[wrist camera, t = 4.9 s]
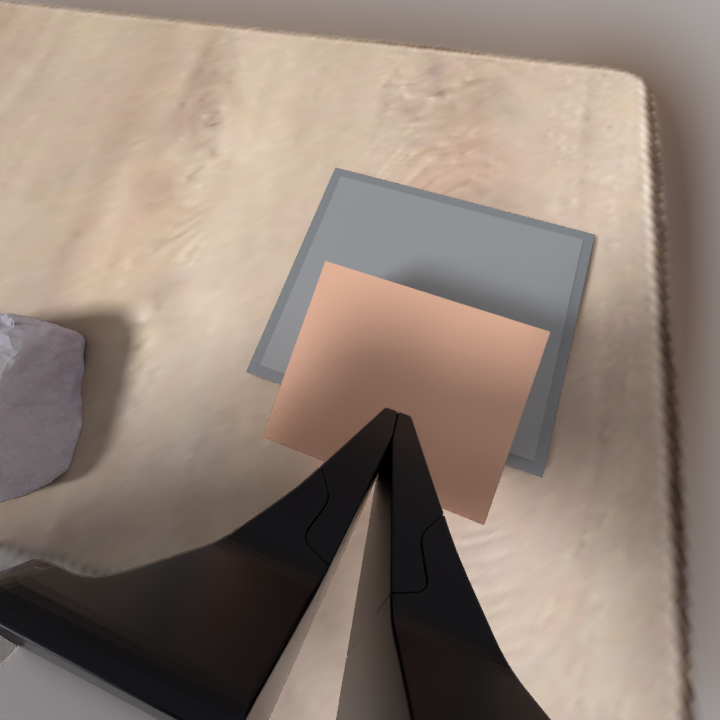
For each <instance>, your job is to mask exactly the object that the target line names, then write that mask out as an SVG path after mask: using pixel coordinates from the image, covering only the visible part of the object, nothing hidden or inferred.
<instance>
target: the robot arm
mask: <svg viewBox="0 0 720 720" xmlns="http://www.w3.org/2000/svg"><path fill="white" fill-rule="evenodd" d="M376 477H377V479H376ZM375 480H376V484H375V490H374V496H373V502H372V508H371V514H370V520H369V526H368V532H367V538H366V544H365V550H364V556H363V562H362V568H361V574H360V580H359V586H358V592H357V598H356V604H355V610H354V616H353V622H352V628H351V634H350V640H349V646H348V652H347V658H346V663H345V669H344V675H343V681H342V687H341V693H340V699H339V705H338V711H337V717H336V720H551V719H550V718H549V717H548V716H547V714H546V713H545V712H544V711H543V710H542V708H541V707H540V706H539V705H538V703H537V702H536V701H535V700H534V698H533V697H532V696H531V695H530V694H529V692H528V691H527V690H526V689H525V687H524V686H523V685H522V683H521V682H520V681H519V679H518V678H517V676H516V675H515V673H514V672H513V671H512V669H511V667H510V666H509V664H508V662H507V661H506V659H505V657H504V655H503V653H502V651H501V650H500V648H499V646H498V644H497V641H496V639H495V637H494V635H493V633H492V630H491V628H490V626H489V624H488V621H487V619H486V617H485V615H484V612H483V610H482V608H481V606H480V604H479V601H478V599H477V597H476V595H475V592H474V590H473V588H472V586H471V583H470V581H469V579H468V577H467V574H466V572H465V570H464V567H463V565H462V563H461V560H460V558H459V555H458V553H457V551H456V548H455V545H454V542H453V540H452V537H451V534H450V531H449V528H448V525H447V522H446V519H445V516H443V511H442V508H441V505H440V502H439V499H438V496H437V493H436V490H435V487H434V484H433V480H432V477H431V474H430V471H429V468H428V465H427V462H426V459H425V456H424V453H423V450H422V447H421V444H420V441H419V438H418V435H417V432H416V429H415V426H414V423H413V420H412V418H411V416H410V415H407V414H404V413H401V412H399V413H397V411H396V410H393V409H390V408H387V407H386V408H384V409H383V410H382V411H381V412H380V413H378V414H377V415H376V416H375V417H374V418H373V419H372V420H371V421H370V422H369V423H367V424H366V425H365V426H364V427H363V428H362V429H361V430H360V431H359V432H358V433H356V434H355V435H354V436H353V437H352V438H351V439H350V440H349V441H348V442H347V443H345V444H344V445H343V446H342V447H341V448H340V449H339V450H338V451H337V452H335V453H334V454H333V455H332V456H331V457H330V458H329V459H328V460H327V461H326V462H324V463H323V464H322V465H321V466H320V468H318V469H317V470H315V471H314V472H313V473H312V474H311V475H310V476H309V477H308V478H306V479H305V480H304V481H303V482H302V483H300V484H299V485H298V486H297V487H296V488H294V489H293V490H292V491H290V492H289V493H288V494H286V495H285V496H284V497H282V498H281V499H279V500H278V501H277V502H275V503H274V504H272V505H271V506H269V507H268V508H266V509H265V510H264V511H262V512H261V513H259V514H258V515H256V516H255V517H253V518H252V519H251V520H249V521H248V522H246V523H245V524H243V525H242V526H241V527H239V528H238V529H236V530H235V531H233V532H232V533H230V534H228V535H226V536H225V537H223V538H221V539H219V540H217V541H215V542H213V543H210V544H208V545H205V546H202V547H199V548H196V549H193V550H189V551H186V552H183V553H180V554H177V555H174V556H171V557H167V558H164V559H161V560H158V561H155V562H152V563H149V564H145V565H142V566H139V567H136V568H133V569H130V570H127V571H124V572H120V573H115V574H111V575H104V576H83V575H79V574H76V573H73V572H71V571H69V570H67V569H65V568H63V567H61V566H58V565H56V564H54V563H52V562H49V561H46V560H42V559H34V560H30V561H28V562H25V563H23V564H20V565H17V566H15V567H12V568H10V569H7V570H4V571H2V572H0V635H1V636H3V637H4V638H6V639H7V640H9V641H11V642H12V643H14V644H15V645H17V647H16V648H15V649H14V650H13V651H12V652H11V653H10V654H9V655H8V656H7V657H6V658H5V659H4V660H3V661H2V663H1V664H0V720H269V717H270V715H271V713H272V711H273V708H274V706H275V704H276V702H277V700H278V697H279V695H280V693H281V691H282V688H283V686H284V684H285V682H286V679H287V677H288V675H289V673H290V670H291V668H292V666H293V664H294V661H295V659H296V657H297V655H298V653H299V650H300V648H301V646H302V644H303V641H304V639H305V636H306V635H307V632H308V630H309V628H310V626H311V623H312V621H313V619H314V617H315V614H316V612H317V610H318V608H319V605H320V603H321V601H322V599H323V597H324V594H325V592H326V590H327V588H328V585H329V583H330V581H331V579H332V576H333V574H334V572H335V570H336V567H337V565H338V563H339V561H340V558H341V556H342V554H343V552H344V550H345V547H346V545H347V543H348V541H349V538H350V536H351V534H352V532H353V529H354V527H355V525H356V523H357V520H358V518H359V516H360V514H361V511H362V509H363V507H364V505H365V503H366V500H367V498H368V496H369V494H370V491H371V489H372V487H373V485H374V482H375Z"/></svg>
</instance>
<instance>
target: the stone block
mask: <svg viewBox="0 0 720 720" xmlns="http://www.w3.org/2000/svg"><path fill="white" fill-rule="evenodd" d="M85 344H86V340H85V337H83V336H82V335H81V334H80V333H79V332H77V331H75V330H71V329H67V328H64V327H61V326H59V325H57V324H54V323H50V322H46V321H41V320H40V319H38V318H28V317H25V316H19V315H15V314H0V502H3V501H5V500H8V499H11V498H16V497H21V496H25V495H27V494H29V493H31V492H33V491H36V490H37V489H39V488H40V487H43V486H45V485H47V484H49V483H51V482H52V481H54V480H55V479H56V478H57V477H58V476H60V475H62V474H63V473H65V472H66V471H67V470H68V468H69V466H70V464H71V461H72V457H73V453H74V450H75V447H76V444H77V441H78V439H79V437H80V432H81V429H82V413H81V410H82V409H81V406H82V398H81V394H80V392H81V386H82V380H83V377H84V372H85V365H84V359H83V355H84V351H85Z"/></svg>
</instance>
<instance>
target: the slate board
mask: <svg viewBox="0 0 720 720" xmlns="http://www.w3.org/2000/svg"><path fill="white" fill-rule="evenodd" d="M594 236H595V235H594V234H590V233H586V232H582V231H578V230H575V229H571V228H567V227H563V226H559V225H555V224H551V223H548V222H544V221H540V220H536V219H532V218H528V217H524V216H521V215H517V214H513V213H509V212H505V211H501V210H497V209H494V208H490V207H486V206H482V205H478V204H474V203H470V202H466V201H463V200H459V199H455V198H451V197H447V196H443V195H439V194H436V193H432V192H428V191H424V190H420V189H416V188H412V187H409V186H405V185H401V184H397V183H393V182H389V181H385V180H382V179H378V178H374V177H370V176H366V175H362V174H358V173H355V172H351V171H347V170H343V169H339V168H335V170H334V172H333V174H332V177H331V179H330V181H329V184H328V186H327V188H326V190H325V193H324V195H323V197H322V200H321V202H320V204H319V207H318V209H317V211H316V213H315V216H314V218H313V220H312V223H311V225H310V227H309V229H308V232H307V234H306V236H305V239H304V241H303V243H302V245H301V248H300V250H299V252H298V255H297V257H296V259H295V261H294V264H293V266H292V268H291V271H290V273H289V275H288V277H287V280H286V282H285V284H284V287H283V289H282V291H281V293H280V296H279V298H278V300H277V303H276V305H275V307H274V309H273V312H272V314H271V316H270V319H269V321H268V323H267V326H266V328H265V330H264V332H263V335H262V337H261V339H260V342H259V344H258V346H257V348H256V351H255V353H254V355H253V358H252V360H251V362H250V364H249V367H248V369H247V371H246V372H247V373H249V374H252V375H254V376H257V377H260V378H263V379H266V380H268V381H271V382H274V383H277V384H280V385H281V383H282V381H283V378H284V375H285V372H286V369H287V367H288V364H289V361H290V358H291V355H292V353H293V350H294V347H295V344H296V342H297V339H298V336H299V333H300V330H301V328H302V325H303V322H304V319H305V316H306V314H307V311H308V308H309V305H310V302H311V300H312V297H313V294H314V291H315V288H316V286H317V283H318V280H319V277H320V274H321V272H322V269H323V266H324V263H325V261H327V262H331V263H334V264H337V265H340V266H343V267H346V268H350V269H353V270H356V271H359V272H362V273H365V274H369V275H372V276H375V277H378V278H381V279H384V280H388V281H391V282H394V283H397V284H400V285H403V286H407V287H410V288H413V289H416V290H419V291H423V292H426V293H429V294H432V295H435V296H438V297H442V298H445V299H448V300H451V301H454V302H457V303H461V304H464V305H467V306H470V307H473V308H476V309H480V310H483V311H486V312H489V313H492V314H495V315H499V316H502V317H505V318H508V319H511V320H514V321H518V322H521V323H524V324H527V325H530V326H534V327H537V328H540V329H543V330H546V331H549V332H550V334H549V337H548V340H547V343H546V346H545V349H544V352H543V355H542V358H541V360H540V363H539V366H538V369H537V372H536V375H535V378H534V381H533V384H532V387H531V390H530V393H529V395H528V398H527V401H526V404H525V407H524V410H523V413H522V416H521V419H520V422H519V425H518V427H517V430H516V433H515V436H514V439H513V442H512V445H511V448H510V451H509V454H508V457H507V460H506V462H505V465H507V466H509V467H512V468H515V469H518V470H521V471H523V472H526V473H529V474H532V475H535V476H538V477H541V478H542V477H543V472H544V468H545V463H546V459H547V454H548V449H549V445H550V440H551V435H552V431H553V426H554V421H555V417H556V412H557V408H558V403H559V398H560V394H561V389H562V384H563V380H564V375H565V370H566V366H567V361H568V357H569V352H570V347H571V343H572V338H573V333H574V329H575V324H576V320H577V315H578V310H579V306H580V301H581V296H582V292H583V287H584V282H585V278H586V273H587V269H588V264H589V259H590V255H591V250H592V245H593V241H594Z"/></svg>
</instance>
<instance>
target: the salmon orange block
mask: <svg viewBox="0 0 720 720" xmlns="http://www.w3.org/2000/svg"><path fill="white" fill-rule="evenodd" d="M549 334H550V332H549V331H546V330H543V329H540V328H537V327H534V326H530V325H527V324H524V323H521V322H518V321H514V320H511V319H508V318H505V317H502V316H499V315H495V314H492V313H489V312H486V311H483V310H480V309H476V308H473V307H470V306H467V305H464V304H461V303H457V302H454V301H451V300H448V299H445V298H442V297H438V296H435V295H432V294H429V293H426V292H423V291H419V290H416V289H413V288H410V287H407V286H403V285H400V284H397V283H394V282H391V281H388V280H384V279H381V278H378V277H375V276H372V275H369V274H365V273H362V272H359V271H356V270H353V269H350V268H346V267H343V266H340V265H337V264H334V263H331V262H327V261H325V263H324V266H323V269H322V272H321V274H320V277H319V280H318V283H317V286H316V288H315V291H314V294H313V297H312V300H311V302H310V305H309V308H308V311H307V314H306V316H305V319H304V322H303V325H302V328H301V330H300V333H299V336H298V339H297V342H296V344H295V347H294V350H293V353H292V355H291V358H290V361H289V364H288V367H287V369H286V372H285V375H284V378H283V381H282V383H281V386H280V389H279V392H278V395H277V397H276V400H275V403H274V406H273V409H272V411H271V414H270V417H269V420H268V423H267V425H266V428H265V431H264V434H263V437H265V438H267V439H270V440H272V441H275V442H277V443H280V444H282V445H285V446H287V447H290V448H292V449H295V450H297V451H300V452H303V453H305V454H308V455H310V456H313V457H315V458H318V459H320V460H323V461H325V462H326V461H327V460H328V459H329V458H330V457H331V456H332V455H333V454H334V453H335V452H337V451H338V450H339V449H340V448H341V447H342V446H343V445H344V444H345V443H347V442H348V441H349V440H350V439H351V438H352V437H353V436H354V435H355V434H356V433H358V432H359V431H360V430H361V429H362V428H363V427H364V426H365V425H366V424H367V423H369V422H370V421H371V420H372V419H373V418H374V417H375V416H376V415H377V414H378V413H380V412H381V411H382V410H383V409H384V408H386V407H387V408H390V409H393V410H396V411H397V413H399V412H401V413H404V414H407V415H410V416H411V418H412V420H413V423H414V426H415V429H416V432H417V435H418V438H419V441H420V444H421V447H422V450H423V453H424V456H425V459H426V462H427V465H428V468H429V471H430V474H431V477H432V480H433V484H434V487H435V490H436V493H437V496H438V499H439V502H440V505H441V508H443V509H445V510H448V511H450V512H453V513H455V514H458V515H460V516H463V517H465V518H468V519H470V520H473V521H475V522H478V523H480V524H483V525H484V524H485V521H486V518H487V515H488V512H489V509H490V506H491V503H492V500H493V497H494V495H495V492H496V489H497V486H498V483H499V480H500V477H501V474H502V471H503V468H504V465H505V462H506V460H507V457H508V454H509V451H510V448H511V445H512V442H513V439H514V436H515V433H516V430H517V427H518V425H519V422H520V419H521V416H522V413H523V410H524V407H525V404H526V401H527V398H528V395H529V393H530V390H531V387H532V384H533V381H534V378H535V375H536V372H537V369H538V366H539V363H540V360H541V358H542V355H543V352H544V349H545V346H546V343H547V340H548V337H549ZM376 479H377V477H376ZM375 482H376V480H375Z"/></svg>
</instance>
